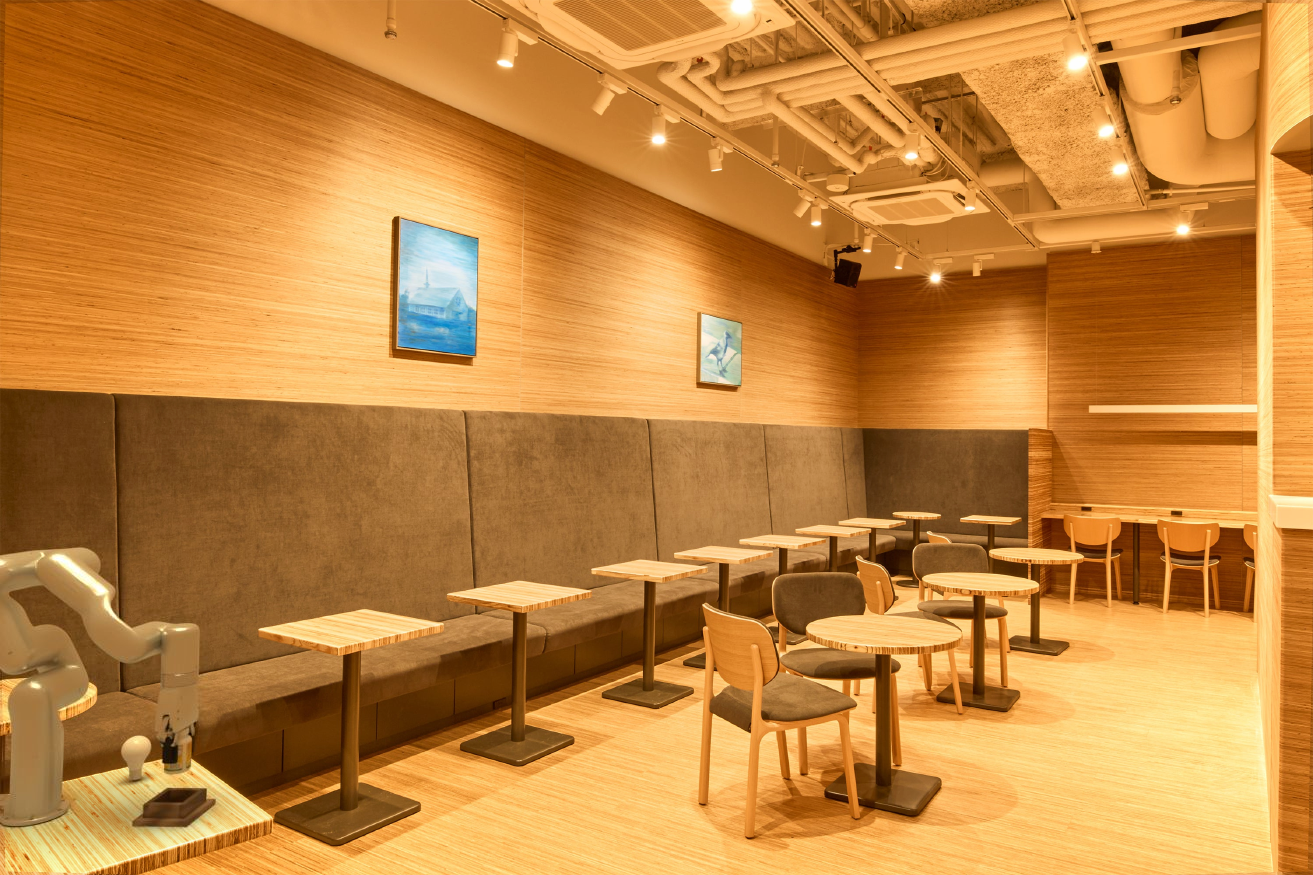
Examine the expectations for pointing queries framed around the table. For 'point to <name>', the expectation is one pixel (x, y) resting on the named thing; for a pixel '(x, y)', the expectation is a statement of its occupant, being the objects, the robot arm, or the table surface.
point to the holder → (174, 808)
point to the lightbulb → (135, 755)
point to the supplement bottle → (181, 753)
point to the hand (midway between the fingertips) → (177, 757)
